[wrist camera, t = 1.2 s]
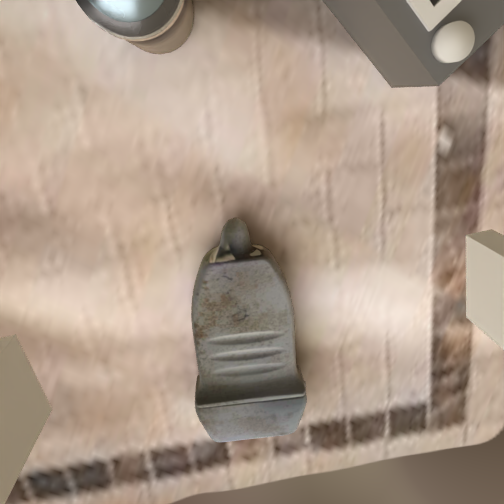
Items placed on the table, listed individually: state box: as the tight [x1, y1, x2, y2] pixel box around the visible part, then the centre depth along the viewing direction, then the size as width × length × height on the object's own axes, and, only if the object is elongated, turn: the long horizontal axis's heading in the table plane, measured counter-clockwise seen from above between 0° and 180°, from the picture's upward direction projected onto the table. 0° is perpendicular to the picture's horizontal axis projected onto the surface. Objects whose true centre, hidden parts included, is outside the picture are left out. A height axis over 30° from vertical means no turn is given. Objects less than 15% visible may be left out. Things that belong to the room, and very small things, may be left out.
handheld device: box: [191, 218, 307, 442], centre depth 35 cm, size 10×20×5 cm, turn 5°
